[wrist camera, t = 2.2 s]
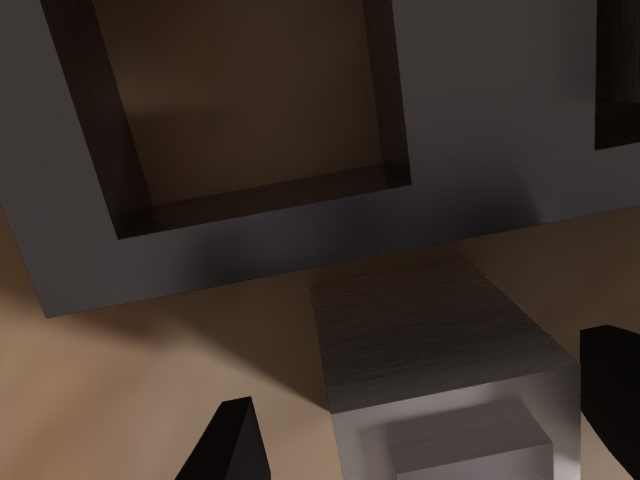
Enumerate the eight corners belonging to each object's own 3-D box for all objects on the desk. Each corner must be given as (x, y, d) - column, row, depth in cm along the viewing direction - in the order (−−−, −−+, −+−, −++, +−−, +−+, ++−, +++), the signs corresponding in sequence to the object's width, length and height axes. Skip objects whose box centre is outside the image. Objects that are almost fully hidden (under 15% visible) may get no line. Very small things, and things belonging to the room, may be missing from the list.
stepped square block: (463, 256, 12) (605, 387, 7) (473, 386, 13) (600, 582, 8) (309, 286, 12) (335, 441, 7) (334, 414, 13) (372, 629, 8)
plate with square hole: (877, -275, 9) (1082, -397, 7) (811, 134, 12) (944, 147, 10) (-43, -123, 9) (-160, -198, 6) (94, 270, 11) (46, 318, 9)
